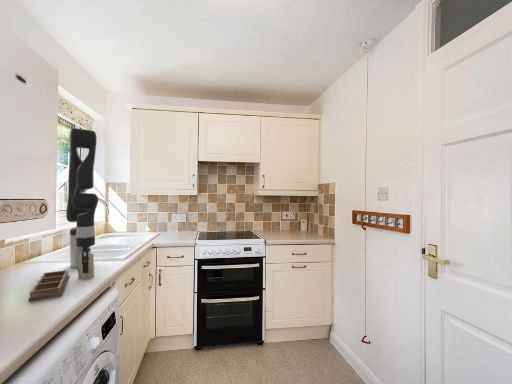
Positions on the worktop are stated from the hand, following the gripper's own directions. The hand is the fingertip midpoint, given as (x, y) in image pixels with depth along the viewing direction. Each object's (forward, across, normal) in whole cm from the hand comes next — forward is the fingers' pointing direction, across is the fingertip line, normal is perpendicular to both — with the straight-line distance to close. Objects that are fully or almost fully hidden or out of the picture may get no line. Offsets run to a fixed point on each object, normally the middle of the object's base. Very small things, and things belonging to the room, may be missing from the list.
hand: (86, 270), depth 126 cm
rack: (+3, +8, -12) cm, 15 cm away
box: (+3, 0, 0) cm, 3 cm away
